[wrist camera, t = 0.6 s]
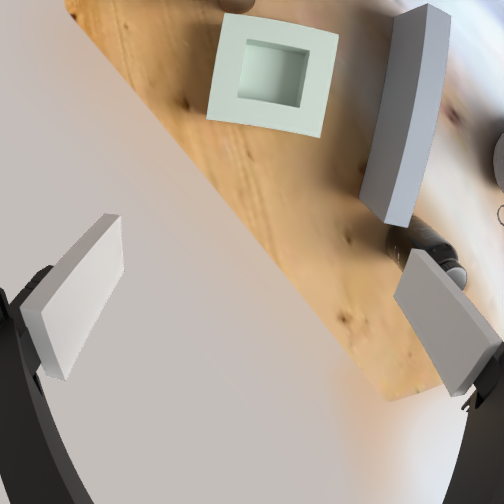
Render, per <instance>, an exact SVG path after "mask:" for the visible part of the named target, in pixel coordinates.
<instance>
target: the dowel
mask: <svg viewBox="0 0 504 504" xmlns="http://www.w3.org/2000/svg"><path fill="white" fill-rule="evenodd" d="M218 1H219V4H220V6H221V8H222V9H223V10H225V11H226V12H228V13H231V14H242V13H245V12H247V11H249V10H250V9H251V8H252V7H253V6H254V4H255V0H218Z"/></svg>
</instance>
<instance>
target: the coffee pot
mask: <svg viewBox="0 0 504 504" xmlns="http://www.w3.org/2000/svg"><path fill="white" fill-rule="evenodd" d="M493 166H494V173H495V178H496V181H497V184H498V185H499V187H500V188H501V190H502V192H503V193H504V132H503V133H502V135H501V137H500V138H499V140H498V142H497V143H496V146H495V149H494V154H493ZM503 206H504V205H501V207H503ZM501 207H500V208H501ZM500 208H499V209H498V213H497V215H498V220H499V222H500V224H502V225H503V226H504V224H503V223H501V221H500V219H499V210H500Z"/></svg>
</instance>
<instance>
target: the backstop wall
mask: <svg viewBox="0 0 504 504" xmlns="http://www.w3.org/2000/svg"><path fill="white" fill-rule="evenodd" d="M450 26H451V15H449V14H447V13H445V12H443V11H442V10H440V9H438V8H436V7H434V6H432V5H430V4H428V3H427V4H425V5H422V6H420V7H417V8H415V9H413V10H410V11H408V12H406V13H403V14H401V15H399V16H396V17H394V24H393V32H392V39H391V46H390V53H389V59H388V65H387V71H386V77H385V83H384V88H383V93H382V99H381V104H380V109H379V114H378V118H377V123H376V128H375V132H374V137H373V141H372V146H371V150H370V154H369V158H368V162H367V167H366V171H365V175H364V179H363V182H362V186H361V190H360V194H359V198H358V199H359V200H360V201H361V202H362V203H363V204H365V205H366V206H367V207H368V208H369V209H370V210H371V211H372V212H373V213H374V214H375V215H376V216H377V217H378V218H379V219H380V220H381V221H382V222H383V223H387V224H392V225H397V226H401V227H406V228H408V225H409V222H410V219H411V216H412V213H413V210H414V206H415V203H416V200H417V197H418V193H419V190H420V186H421V183H422V179H423V176H424V172H425V168H426V165H427V161H428V157H429V153H430V149H431V145H432V140H433V136H434V131H435V127H436V122H437V117H438V112H439V107H440V102H441V96H442V90H443V84H444V78H445V71H446V64H447V56H448V47H449V38H450Z"/></svg>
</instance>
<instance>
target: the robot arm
mask: <svg viewBox="0 0 504 504" xmlns="http://www.w3.org/2000/svg"><path fill="white" fill-rule="evenodd" d="M123 272H124V264H123V250H122V232H121V215H114V214H104V215H103V216H102V217H101V218H100V219H99V220H98V221H97V222H96V223H95V224H94V225H93V226H92V227H91V228H90V229H89V230H88V231H87V232H86V233H85V234H84V235H83V236H82V237H81V238H80V239H79V240H78V241H77V242H76V243H75V244H74V245H73V246H72V247H71V249H70V250H69V251H68V252H67V253H66V254H65V255H64V256H63V257H62V258H61V259H60V260H59V261H58V263H57V264H56V265H55V266H51V265H48V266H47V267H45V268H44V269H42V270H40V271H38V272H37V274H36V275H35V276H34V277H33V278H32V279H31V282H28V283H27V285H26V286H25V288H24V289H22V290H21V291H20V293H19V294H18V295H17V296H16V297H15V299H14V300H13V301H12V302H11V303H10V304H8V301H7V298H6V294H5V292H4V290H3V289H2V288H0V475H1V478H2V481H3V484H4V487H5V490H6V493H7V495H8V498H9V501H10V504H94V503H93V501H92V499H91V498H90V496H89V494H88V492H87V491H86V489H85V487H84V485H83V483H82V481H81V480H80V478H79V476H78V474H77V472H76V470H75V468H74V466H73V464H72V461H71V459H70V458H69V455H68V453H67V451H66V449H65V446H64V444H63V442H62V439H61V437H60V435H59V432H58V430H57V427H56V425H55V422H54V420H53V417H52V415H51V412H50V409H49V406H48V404H47V401H46V398H45V395H44V392H43V389H42V386H41V383H40V380H39V377H38V375H37V373H36V371H37V369H38V367H39V366H40V364H41V365H42V367H43V369H44V371H45V373H46V375H47V376H50V377H54V378H57V379H61V380H64V381H66V380H67V378H68V375H69V374H70V371H71V369H72V367H73V365H74V363H75V361H76V359H77V357H78V355H79V353H80V350H81V349H82V347H83V345H84V343H85V341H86V339H87V337H88V335H89V333H90V331H91V329H92V328H93V326H94V324H95V322H96V320H97V318H98V316H99V314H100V313H101V311H102V309H103V307H104V305H105V304H106V302H107V300H108V298H109V296H110V295H111V293H112V291H113V289H114V287H115V286H116V284H117V282H118V281H119V279H120V277H121V276H122V274H123ZM393 297H394V298H395V300H396V301H397V303H398V305H399V306H400V308H401V309H402V311H403V313H404V314H405V316H406V318H407V319H408V321H409V323H410V324H411V326H412V328H413V329H414V331H415V333H416V334H417V336H418V338H419V339H420V341H421V343H422V345H423V346H424V348H425V350H426V352H427V353H428V355H429V357H430V359H431V360H432V362H433V364H434V366H435V368H436V370H437V371H438V373H439V375H440V377H441V379H442V381H443V383H444V384H445V386H446V388H447V390H448V392H449V394H450V396H451V397H455V396H460V395H464V394H465V393H466V392H467V390H468V389H469V388H470V387H471V386H472V384H474V386H475V387H476V390H475V391H474V393H473V394H472V395H471V396H470V398H469V399H468V400H467V401H466V402H465V404H464V405H463V406H462V408H461V409H462V410H464V408H465V407H466V406H468V405H469V406H470V407H469V408H468V410H467V411H466V412H468V417H467V422H466V426H465V431H464V435H463V439H462V443H461V447H460V451H459V454H458V458H457V462H456V465H455V468H454V472H453V475H452V478H451V481H450V484H449V487H448V490H447V493H446V495H445V498H444V501H443V503H442V504H504V342H503V341H502V339H501V338H500V337H499V335H498V334H497V333H496V332H495V330H494V329H493V328H492V326H491V325H490V324H489V323H488V321H487V320H486V319H485V318H484V316H483V315H482V314H481V313H480V312H479V310H478V309H477V308H476V307H475V306H474V304H473V303H472V302H471V301H470V300H469V298H468V297H467V296H466V295H465V294H464V293H463V292H462V290H461V289H460V288H459V287H458V286H457V285H456V284H455V283H454V281H453V280H452V279H451V278H450V277H449V276H448V275H447V274H446V273H445V271H444V270H443V269H442V268H441V267H440V266H439V265H438V264H437V263H436V262H435V261H434V260H433V259H432V258H431V257H430V256H429V255H428V253H427V252H426V251H425V250H420V249H413V248H412V250H411V252H410V255H409V258H408V261H407V263H406V266H405V269H404V271H403V274H402V276H401V279H400V282H399V284H398V287H397V289H396V292H395V294H394V296H393Z"/></svg>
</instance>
